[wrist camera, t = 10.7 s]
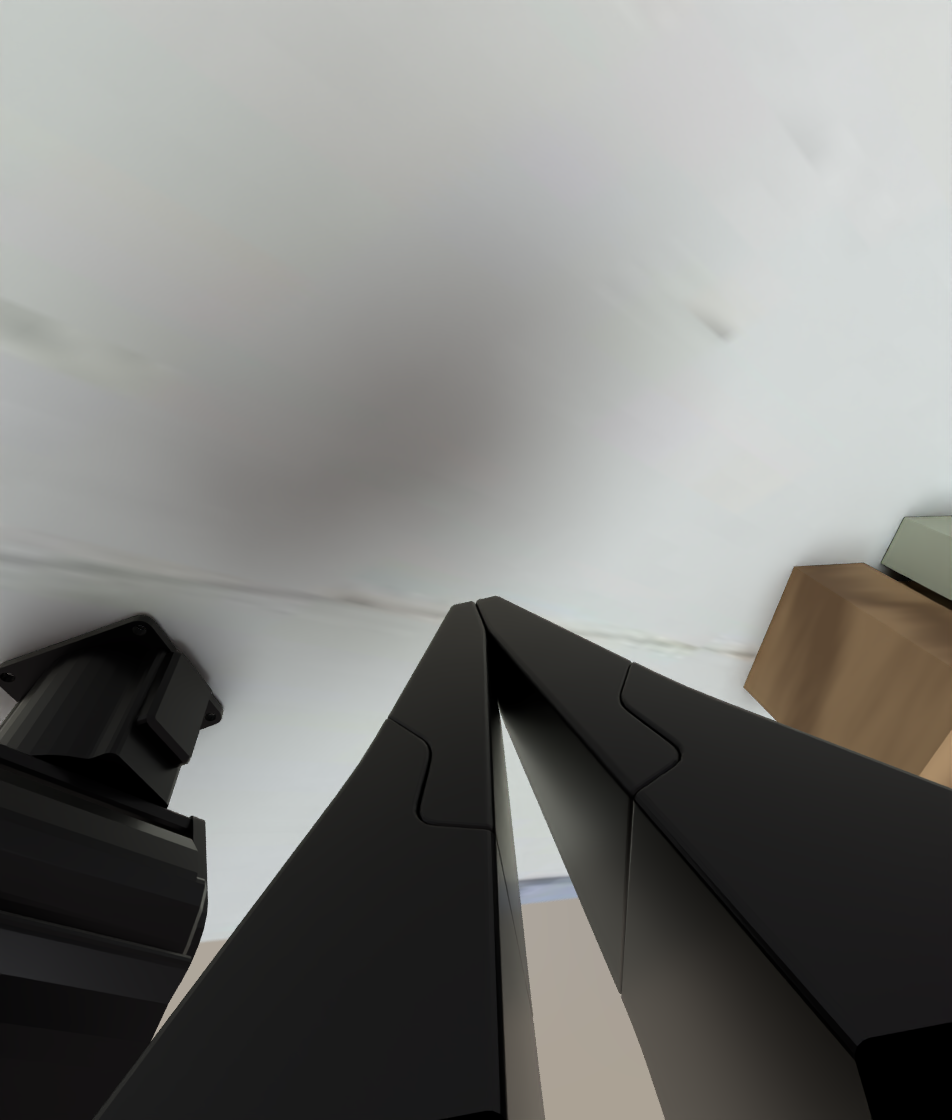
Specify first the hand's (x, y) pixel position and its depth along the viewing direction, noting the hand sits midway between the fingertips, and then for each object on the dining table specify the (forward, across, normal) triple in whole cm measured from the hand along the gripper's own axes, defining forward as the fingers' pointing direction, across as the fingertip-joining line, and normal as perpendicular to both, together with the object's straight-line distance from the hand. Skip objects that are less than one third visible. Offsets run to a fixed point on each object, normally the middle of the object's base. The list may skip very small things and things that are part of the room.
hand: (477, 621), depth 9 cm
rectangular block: (+14, +25, -18) cm, 34 cm away
